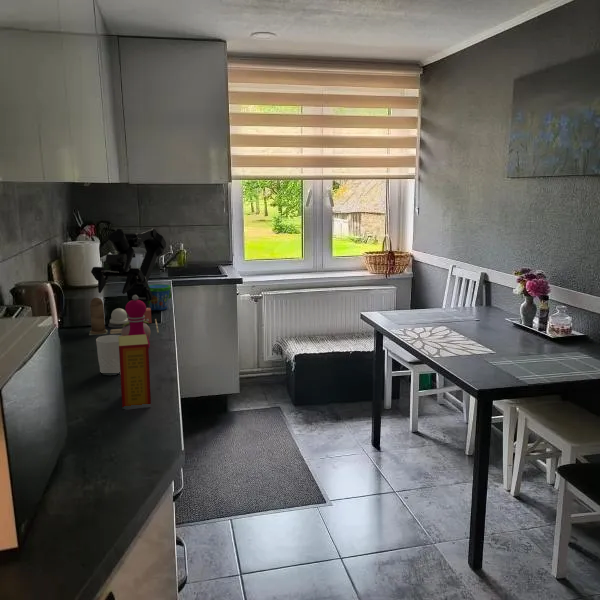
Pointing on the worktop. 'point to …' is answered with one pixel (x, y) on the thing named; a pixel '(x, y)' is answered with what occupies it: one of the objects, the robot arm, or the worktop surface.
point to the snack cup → (159, 296)
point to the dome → (119, 316)
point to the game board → (114, 331)
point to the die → (148, 315)
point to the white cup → (108, 353)
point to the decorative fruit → (127, 328)
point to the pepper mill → (136, 316)
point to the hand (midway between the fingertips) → (111, 292)
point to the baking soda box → (134, 370)
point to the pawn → (97, 316)
